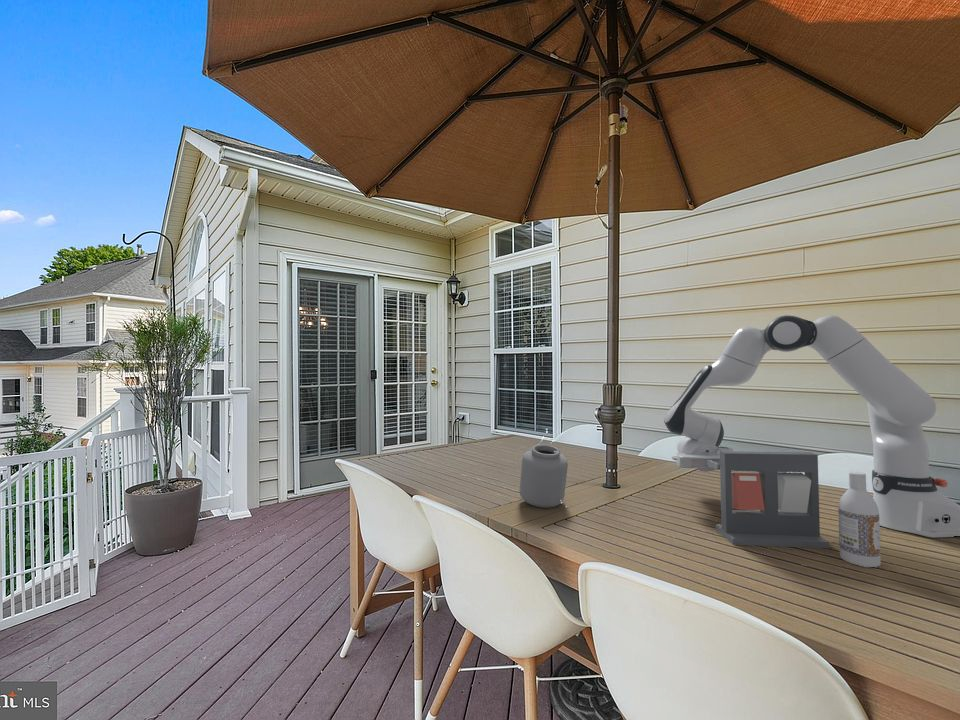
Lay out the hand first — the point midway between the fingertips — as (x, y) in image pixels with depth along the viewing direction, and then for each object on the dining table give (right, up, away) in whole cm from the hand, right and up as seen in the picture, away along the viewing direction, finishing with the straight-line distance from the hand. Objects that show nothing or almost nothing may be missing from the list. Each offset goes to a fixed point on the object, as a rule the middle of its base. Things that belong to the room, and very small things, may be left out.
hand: (721, 466), depth 127 cm
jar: (-50, -16, +14) cm, 54 cm away
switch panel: (+4, -15, -16) cm, 22 cm away
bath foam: (+15, -14, -29) cm, 36 cm away
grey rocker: (+9, -7, -15) cm, 19 cm away
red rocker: (-2, -7, -16) cm, 18 cm away
